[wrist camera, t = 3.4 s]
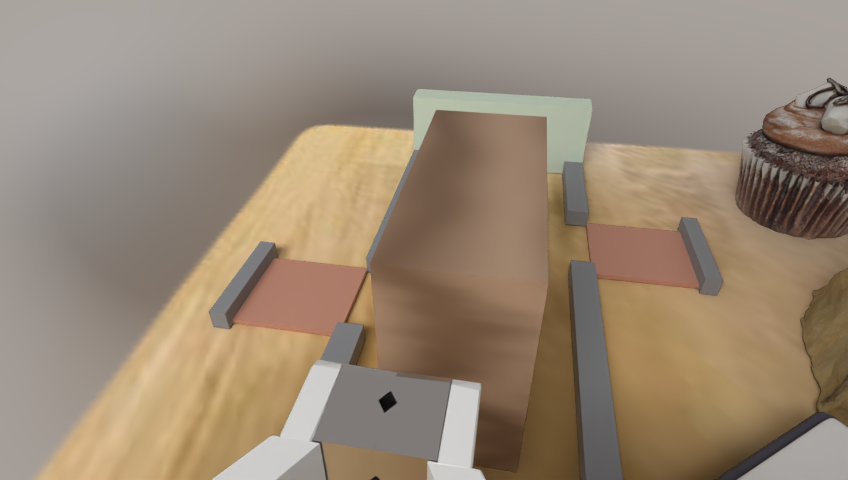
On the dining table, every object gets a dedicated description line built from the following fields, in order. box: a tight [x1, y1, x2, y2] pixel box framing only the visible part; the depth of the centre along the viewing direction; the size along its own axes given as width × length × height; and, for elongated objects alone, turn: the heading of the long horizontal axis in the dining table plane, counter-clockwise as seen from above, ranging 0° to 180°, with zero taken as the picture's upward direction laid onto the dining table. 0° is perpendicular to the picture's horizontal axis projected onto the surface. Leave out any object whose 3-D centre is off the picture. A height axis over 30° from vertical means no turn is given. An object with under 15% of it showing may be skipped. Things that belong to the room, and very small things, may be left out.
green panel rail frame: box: [209, 89, 723, 480], centre depth 34 cm, size 30×33×6 cm
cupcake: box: [736, 78, 848, 239], centre depth 38 cm, size 10×10×10 cm
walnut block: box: [370, 110, 549, 472], centre depth 27 cm, size 6×14×11 cm, turn 170°
